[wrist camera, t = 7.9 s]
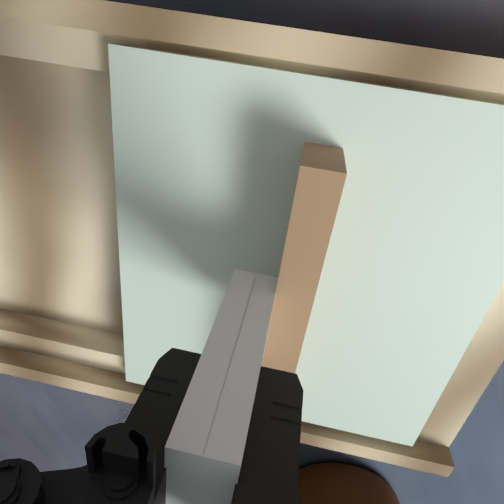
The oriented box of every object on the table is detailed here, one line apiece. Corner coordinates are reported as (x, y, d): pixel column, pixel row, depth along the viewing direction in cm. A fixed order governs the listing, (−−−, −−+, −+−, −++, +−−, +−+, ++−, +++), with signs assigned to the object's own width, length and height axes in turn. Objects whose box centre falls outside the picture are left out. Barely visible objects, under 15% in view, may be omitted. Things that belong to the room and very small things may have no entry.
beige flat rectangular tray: (-76, 306, 23) (-130, 342, 20) (-208, -45, 15) (-331, -64, 12) (431, 419, 21) (447, 477, 18) (623, 77, 12) (707, 89, 10)
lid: (131, 371, 20) (99, 426, 17) (117, 43, 12) (56, 45, 9) (410, 435, 18) (424, 504, 16) (580, 115, 11) (664, 140, 8)
